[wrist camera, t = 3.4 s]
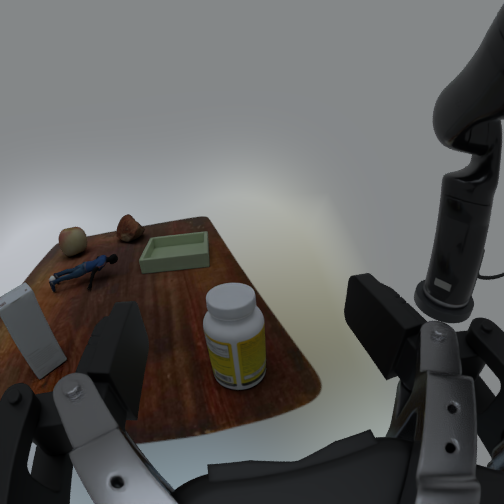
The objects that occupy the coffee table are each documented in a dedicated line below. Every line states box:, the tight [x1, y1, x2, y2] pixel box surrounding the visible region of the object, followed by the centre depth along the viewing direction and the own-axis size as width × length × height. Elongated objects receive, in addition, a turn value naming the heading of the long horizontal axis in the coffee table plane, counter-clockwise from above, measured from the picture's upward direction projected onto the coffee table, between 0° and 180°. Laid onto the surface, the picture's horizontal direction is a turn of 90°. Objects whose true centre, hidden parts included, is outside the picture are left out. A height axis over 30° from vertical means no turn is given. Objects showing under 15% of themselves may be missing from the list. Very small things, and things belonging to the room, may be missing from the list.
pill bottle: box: [203, 283, 266, 390], centre depth 28 cm, size 6×6×11 cm
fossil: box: [117, 214, 145, 242], centre depth 75 cm, size 13×8×10 cm
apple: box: [59, 227, 87, 257], centre depth 65 cm, size 9×9×8 cm
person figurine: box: [49, 254, 118, 292], centre depth 51 cm, size 11×4×18 cm
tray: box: [139, 232, 209, 274], centre depth 61 cm, size 15×14×3 cm
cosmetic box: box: [0, 283, 67, 379], centre depth 26 cm, size 6×4×12 cm
